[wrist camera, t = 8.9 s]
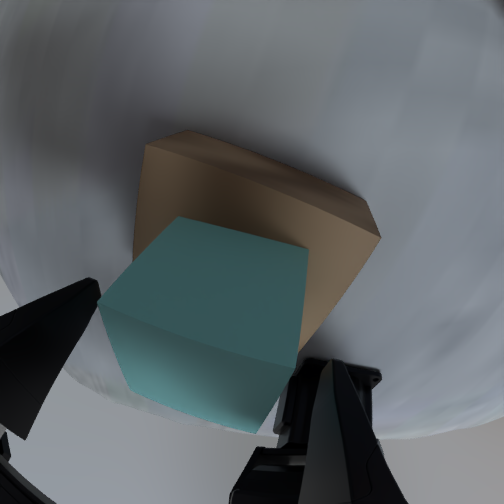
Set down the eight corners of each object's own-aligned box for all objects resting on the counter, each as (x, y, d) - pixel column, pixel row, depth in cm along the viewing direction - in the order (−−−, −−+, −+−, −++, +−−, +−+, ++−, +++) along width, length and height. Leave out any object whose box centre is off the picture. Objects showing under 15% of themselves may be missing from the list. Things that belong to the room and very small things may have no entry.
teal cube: (308, 249, 10) (295, 368, 5) (277, 337, 12) (255, 433, 8) (178, 216, 10) (97, 302, 6) (178, 307, 13) (130, 390, 9)
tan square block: (364, 198, 12) (381, 238, 9) (291, 319, 17) (283, 370, 14) (190, 128, 12) (145, 144, 9) (163, 266, 17) (131, 306, 14)
